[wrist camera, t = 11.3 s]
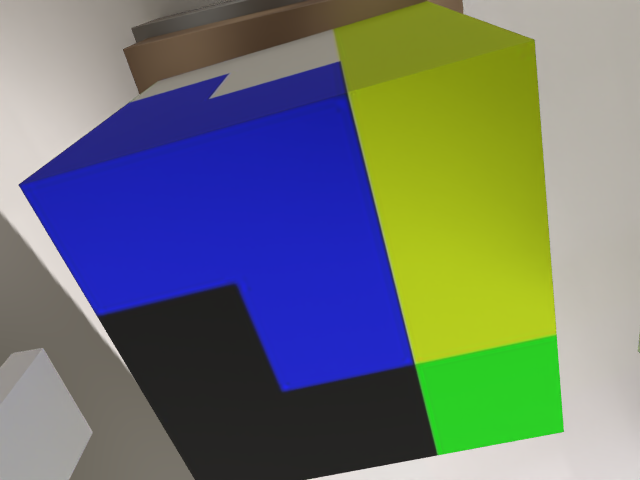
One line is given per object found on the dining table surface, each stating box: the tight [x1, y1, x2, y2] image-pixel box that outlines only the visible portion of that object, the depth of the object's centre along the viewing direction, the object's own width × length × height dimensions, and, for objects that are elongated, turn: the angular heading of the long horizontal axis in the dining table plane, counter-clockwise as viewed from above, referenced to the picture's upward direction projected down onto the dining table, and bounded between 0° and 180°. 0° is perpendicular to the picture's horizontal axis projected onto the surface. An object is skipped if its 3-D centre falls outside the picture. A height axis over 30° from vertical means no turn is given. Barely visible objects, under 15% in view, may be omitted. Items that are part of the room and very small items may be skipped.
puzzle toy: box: [19, 1, 564, 480], centre depth 16 cm, size 10×10×10 cm
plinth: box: [123, 0, 463, 94], centre depth 24 cm, size 13×13×7 cm
